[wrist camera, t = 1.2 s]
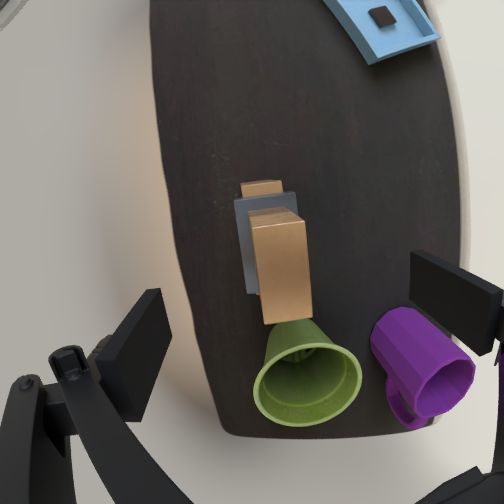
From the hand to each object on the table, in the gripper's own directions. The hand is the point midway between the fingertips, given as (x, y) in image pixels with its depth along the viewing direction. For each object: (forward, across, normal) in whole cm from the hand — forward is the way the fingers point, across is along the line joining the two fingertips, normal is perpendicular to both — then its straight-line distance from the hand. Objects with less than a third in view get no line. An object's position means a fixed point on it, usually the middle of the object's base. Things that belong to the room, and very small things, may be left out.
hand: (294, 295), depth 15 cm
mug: (+23, +18, -22) cm, 36 cm away
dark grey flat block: (+22, +20, +27) cm, 40 cm away
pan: (+23, +19, +30) cm, 42 cm away
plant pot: (+23, +2, -16) cm, 28 cm away
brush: (+13, 0, 0) cm, 13 cm away
